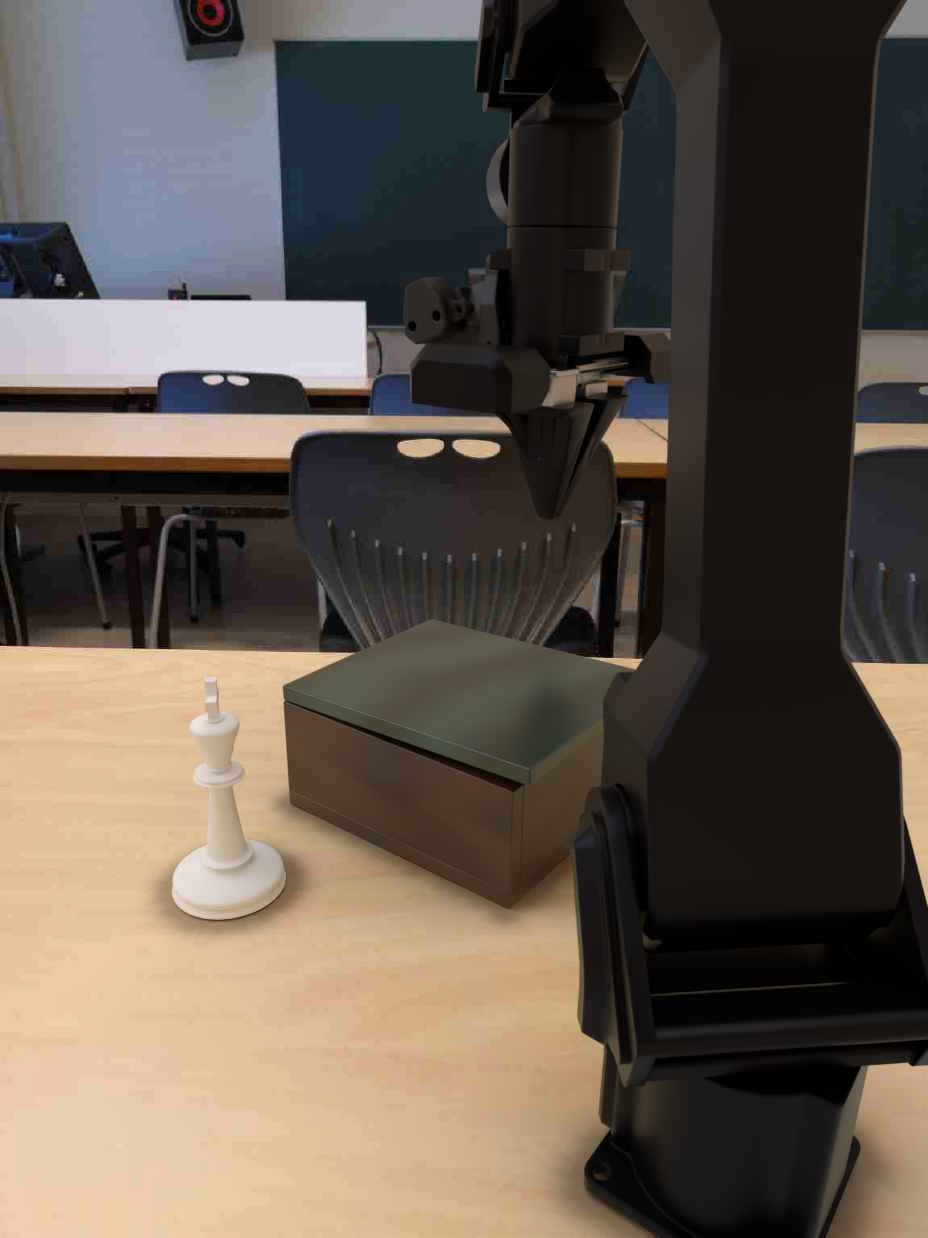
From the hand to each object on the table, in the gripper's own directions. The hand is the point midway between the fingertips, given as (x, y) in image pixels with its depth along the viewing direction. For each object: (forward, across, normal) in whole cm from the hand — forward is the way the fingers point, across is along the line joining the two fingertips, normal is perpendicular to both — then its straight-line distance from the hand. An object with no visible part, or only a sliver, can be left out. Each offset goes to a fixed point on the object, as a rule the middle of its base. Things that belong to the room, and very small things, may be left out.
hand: (548, 517), depth 55 cm
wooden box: (+12, +12, +3) cm, 17 cm away
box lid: (+6, +12, +3) cm, 14 cm away
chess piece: (+12, +24, -1) cm, 27 cm away
